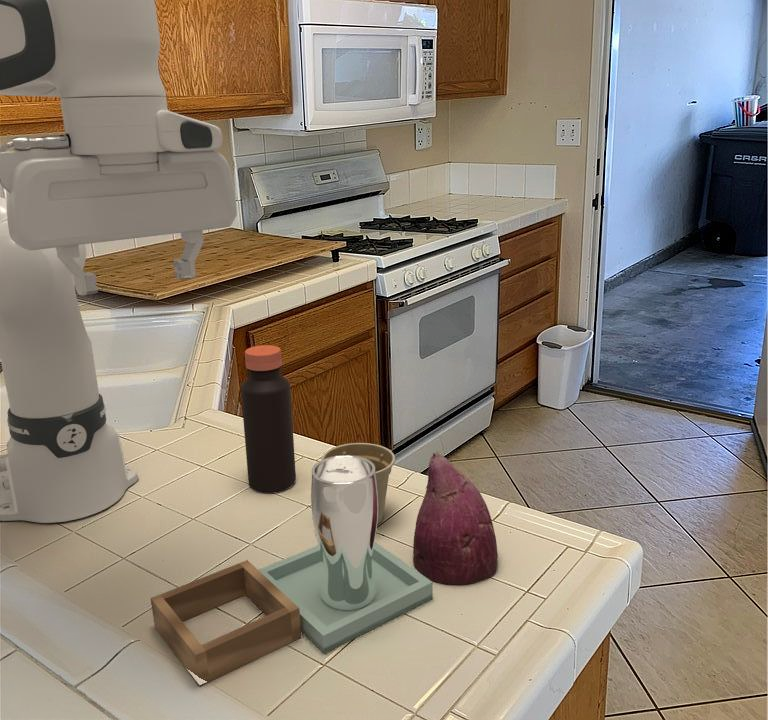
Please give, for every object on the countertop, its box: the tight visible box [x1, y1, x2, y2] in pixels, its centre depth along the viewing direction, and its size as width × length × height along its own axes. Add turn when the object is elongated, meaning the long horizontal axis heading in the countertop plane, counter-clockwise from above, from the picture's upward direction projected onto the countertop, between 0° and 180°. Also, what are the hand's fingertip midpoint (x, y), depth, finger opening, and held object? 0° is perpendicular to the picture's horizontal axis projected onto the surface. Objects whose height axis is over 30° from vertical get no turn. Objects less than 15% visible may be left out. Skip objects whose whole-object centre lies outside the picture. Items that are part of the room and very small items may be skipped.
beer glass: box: [310, 455, 378, 610], centre depth 80 cm, size 7×7×15 cm
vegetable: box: [412, 449, 499, 586], centre depth 87 cm, size 10×10×15 cm
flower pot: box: [320, 442, 396, 525], centre depth 97 cm, size 9×9×9 cm
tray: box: [258, 541, 434, 655], centre depth 83 cm, size 14×14×2 cm
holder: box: [150, 559, 302, 683], centre depth 77 cm, size 11×11×4 cm
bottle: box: [240, 344, 297, 494], centre depth 105 cm, size 7×7×20 cm
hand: (138, 285), depth 71 cm, fingers open, 8 cm apart
